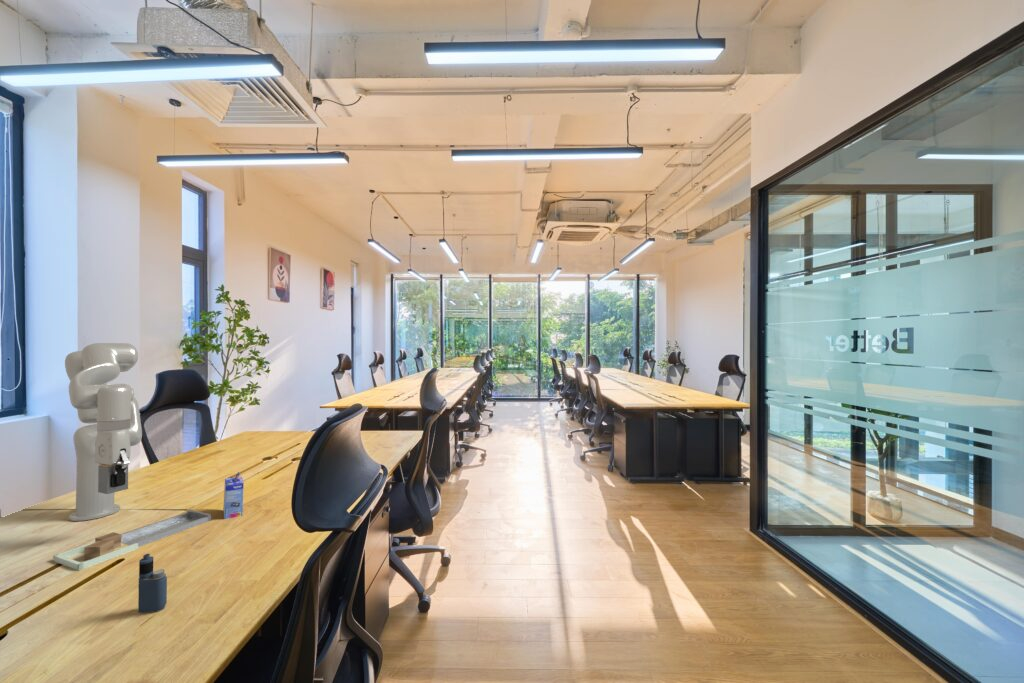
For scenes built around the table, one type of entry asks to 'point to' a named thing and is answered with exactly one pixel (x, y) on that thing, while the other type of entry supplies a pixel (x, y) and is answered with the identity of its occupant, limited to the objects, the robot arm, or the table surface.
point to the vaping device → (151, 586)
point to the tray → (77, 565)
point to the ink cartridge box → (233, 497)
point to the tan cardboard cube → (111, 536)
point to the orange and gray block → (109, 479)
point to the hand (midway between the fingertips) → (113, 484)
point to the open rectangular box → (165, 528)
